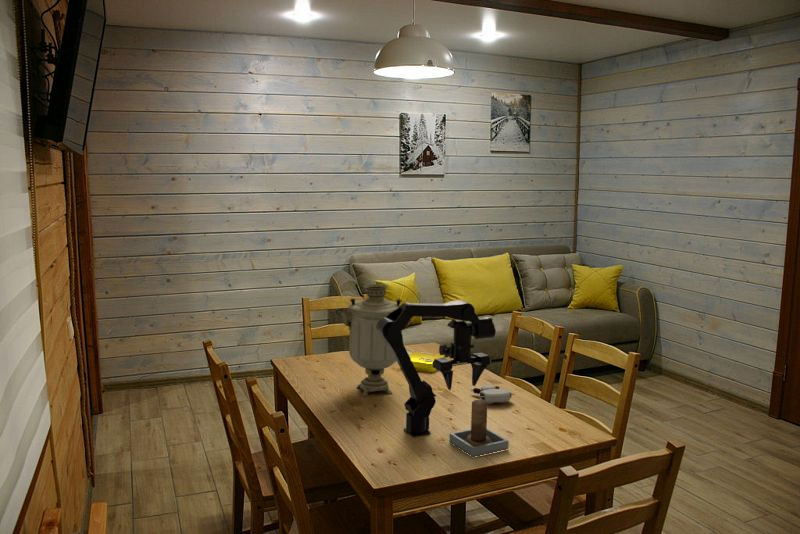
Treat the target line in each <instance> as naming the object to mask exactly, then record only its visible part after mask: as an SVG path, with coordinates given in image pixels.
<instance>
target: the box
mask: <svg viewBox="0 0 800 534" xmlns="http://www.w3.org/2000/svg"><path fill="white" fill-rule="evenodd" d="M470 434H471V428H469V429H464V430H460V431H459V430H458V431H454V432H449V442H450V443H449V444H451V443H452V444H454V445H455V446H456V447H455V446H454V445H453V446H454V447H455V448H457V447H458V448H460V449H461V450H463V451H464V452H466V453H468V454H469V455H471V456H472V457H475V456H480V455H484V454H489V453H493V452H497V451H501V450H506V449H508V450H509V446H510V445H509V443H510V441H509V440H508V439H507V438H505V437H503V436H501V435H499V434H498V433H496V432H494V431H493V430H491V429H489V428H487V432H486V435H487V436H488V437H489V438H490V443H489V444H485V445H480V446H476V447H473V446H472V445H470V444H469V443H467V436H468V435H470ZM452 444H451V445H452ZM458 448H457V449H458ZM460 449H459V450H460ZM461 450H460V451H461ZM463 451H462V452H463ZM464 452H463V453H464ZM466 453H465V454H466ZM469 455H468V456H469ZM472 457H471V458H472Z"/></svg>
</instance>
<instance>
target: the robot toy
mask: <svg viewBox="0 0 800 534" xmlns="http://www.w3.org/2000/svg"><path fill="white" fill-rule="evenodd" d="M480 387H481V388H478V387H474V388H471V389H470V391H471V392H473V393H474V394H477V395H479V397H478V398H479V399H480V400H483V401H486V402H487V405H491V404H494V403H500V404H504V403H507V402H509V401H510V400H511V398H512V395H516V393H512V392H510V391H509V390H507V389H505V388H500V386H497V385H496V386H494V385H492V384H485V385H482V386H480Z"/></svg>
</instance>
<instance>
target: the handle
mask: <svg viewBox="0 0 800 534" xmlns="http://www.w3.org/2000/svg"><path fill="white" fill-rule="evenodd" d="M470 420H471V421H470V429H471V434H470V435H468V436H467V443H469V444H470V445H472V446H473V447H476V446H480V445H485V444H489V443H490V438H489V437H488V436H487V435H486V432H487V429H488V428H487V427H488V403H487V402H486V401H484V400H482V399H475V400H473V401H471V419H470Z"/></svg>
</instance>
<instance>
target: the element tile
mask: <svg viewBox="0 0 800 534" xmlns="http://www.w3.org/2000/svg"><path fill="white" fill-rule="evenodd" d="M408 355H409V357H410V359H411V361H412V363H413V365H414V367H415V369H416V370H417V372H422V371H423V373H430V372H432V373H436V372H437V371H438V370H437V369H435V368H433V361H434V359H438V358H445V356H444V355H440V353H432V352H431V353H429V352H420V351H413V352H411V353H408ZM435 371H436V372H435Z"/></svg>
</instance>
